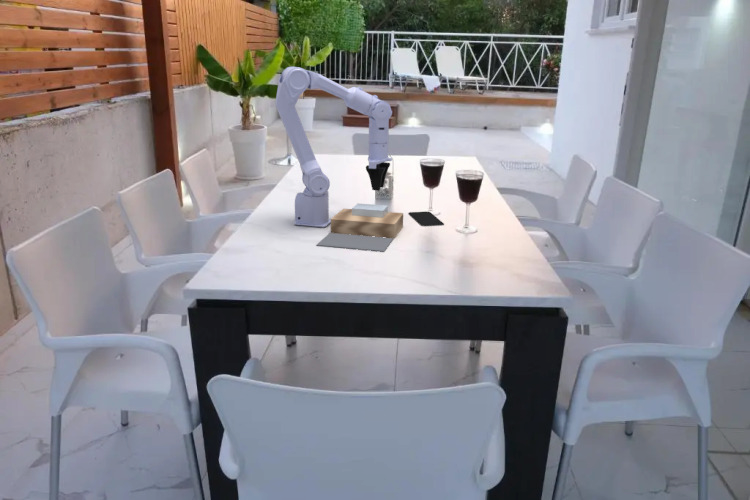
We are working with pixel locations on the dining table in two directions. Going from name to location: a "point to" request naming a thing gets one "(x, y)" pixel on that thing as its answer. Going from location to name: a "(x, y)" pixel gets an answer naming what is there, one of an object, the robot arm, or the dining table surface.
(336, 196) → the dining table surface
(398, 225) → the tan flat wooden block
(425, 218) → the smartphone
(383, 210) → the tile
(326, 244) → the mat
